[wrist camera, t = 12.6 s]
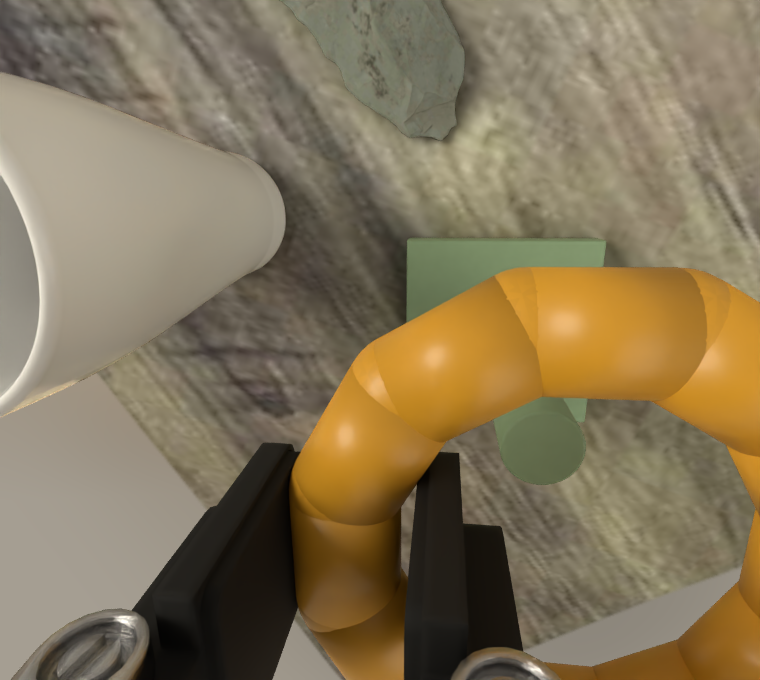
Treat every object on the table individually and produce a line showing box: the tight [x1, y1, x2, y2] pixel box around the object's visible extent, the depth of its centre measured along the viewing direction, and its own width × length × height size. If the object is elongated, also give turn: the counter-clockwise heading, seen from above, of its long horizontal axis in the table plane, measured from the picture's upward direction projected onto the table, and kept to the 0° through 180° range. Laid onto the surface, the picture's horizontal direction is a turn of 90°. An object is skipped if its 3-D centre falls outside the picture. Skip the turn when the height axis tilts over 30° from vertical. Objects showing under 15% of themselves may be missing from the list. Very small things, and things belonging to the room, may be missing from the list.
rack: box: [406, 238, 606, 485], centre depth 17 cm, size 8×8×11 cm
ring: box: [289, 267, 760, 680], centre depth 9 cm, size 10×10×2 cm
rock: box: [280, 0, 465, 141], centre depth 19 cm, size 9×2×5 cm
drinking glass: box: [0, 71, 286, 418], centre depth 15 cm, size 7×7×15 cm
